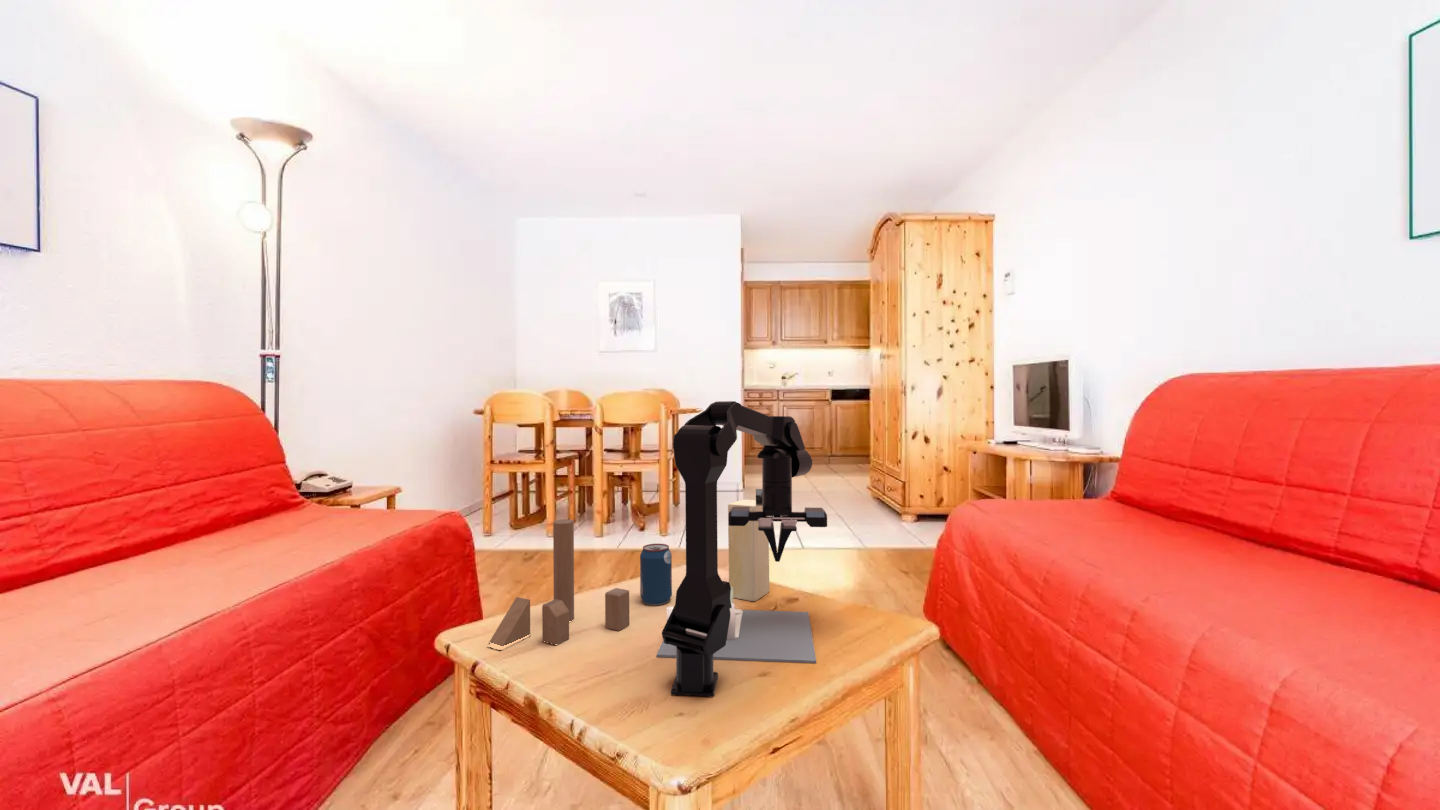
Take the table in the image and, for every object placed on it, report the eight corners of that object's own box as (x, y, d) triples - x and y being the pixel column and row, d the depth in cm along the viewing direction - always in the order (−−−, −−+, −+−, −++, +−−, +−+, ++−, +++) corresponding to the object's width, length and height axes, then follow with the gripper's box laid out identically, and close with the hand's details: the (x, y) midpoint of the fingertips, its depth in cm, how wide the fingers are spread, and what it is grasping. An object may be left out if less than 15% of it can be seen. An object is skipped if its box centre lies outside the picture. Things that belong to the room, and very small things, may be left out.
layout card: (816, 663, 91) (815, 624, 91) (656, 657, 93) (656, 619, 94) (808, 613, 113) (807, 582, 113) (679, 609, 115) (678, 579, 115)
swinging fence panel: (733, 608, 113) (733, 586, 113) (734, 631, 102) (734, 607, 102) (725, 608, 113) (725, 586, 113) (725, 631, 102) (725, 607, 102)
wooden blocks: (486, 647, 98) (485, 535, 98) (564, 611, 115) (564, 516, 115) (557, 668, 90) (556, 546, 90) (630, 625, 107) (629, 523, 108)
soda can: (678, 600, 121) (678, 546, 121) (654, 609, 116) (654, 552, 116) (657, 593, 126) (656, 541, 126) (633, 601, 121) (633, 547, 121)
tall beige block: (741, 586, 130) (741, 498, 130) (770, 591, 126) (769, 500, 127) (725, 596, 123) (724, 503, 123) (754, 602, 120) (754, 506, 120)
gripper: (821, 476, 114) (822, 551, 113) (732, 475, 115) (732, 549, 115) (827, 483, 102) (827, 566, 102) (728, 482, 104) (728, 564, 104)
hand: (777, 561), depth 106 cm, fingers closed
